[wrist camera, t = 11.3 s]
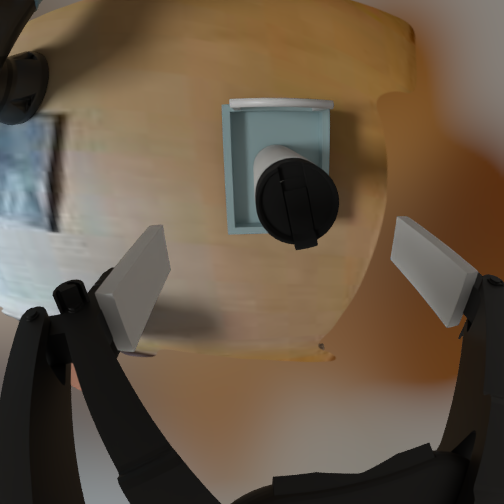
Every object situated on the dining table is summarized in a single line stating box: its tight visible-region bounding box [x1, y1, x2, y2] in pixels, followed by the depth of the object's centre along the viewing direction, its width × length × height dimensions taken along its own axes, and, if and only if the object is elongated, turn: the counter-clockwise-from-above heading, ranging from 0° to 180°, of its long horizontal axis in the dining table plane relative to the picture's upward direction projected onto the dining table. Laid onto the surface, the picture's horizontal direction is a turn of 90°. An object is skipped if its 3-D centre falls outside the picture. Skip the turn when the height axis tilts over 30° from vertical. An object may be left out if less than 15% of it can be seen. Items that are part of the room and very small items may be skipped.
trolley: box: [222, 98, 334, 234], centre depth 35 cm, size 18×14×12 cm
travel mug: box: [253, 145, 339, 250], centre depth 28 cm, size 6×7×20 cm
